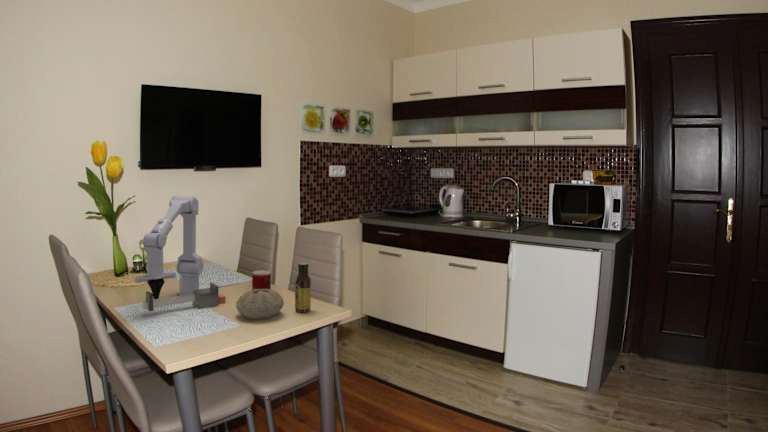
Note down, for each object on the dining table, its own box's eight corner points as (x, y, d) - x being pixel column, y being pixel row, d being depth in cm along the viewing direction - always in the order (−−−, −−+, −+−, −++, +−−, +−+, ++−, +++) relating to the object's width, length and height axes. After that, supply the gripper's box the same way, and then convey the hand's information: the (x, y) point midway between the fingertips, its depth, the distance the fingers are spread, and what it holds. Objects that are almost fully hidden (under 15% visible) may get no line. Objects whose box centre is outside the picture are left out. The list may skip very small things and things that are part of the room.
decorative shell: (227, 315, 187) (227, 290, 185) (265, 305, 200) (265, 282, 199) (254, 326, 175) (254, 300, 174) (293, 315, 189) (293, 290, 188)
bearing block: (192, 304, 199) (192, 285, 198) (212, 301, 204) (211, 282, 203) (199, 308, 193) (198, 288, 192) (218, 305, 199) (218, 285, 198)
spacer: (215, 295, 203) (221, 294, 205) (215, 302, 203) (221, 301, 205) (219, 297, 200) (225, 296, 202) (219, 304, 200) (225, 303, 202)
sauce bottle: (295, 308, 197) (296, 261, 195) (311, 308, 198) (311, 261, 195) (294, 313, 191) (294, 264, 188) (310, 313, 191) (310, 264, 189)
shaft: (142, 308, 185) (141, 292, 184) (202, 299, 200) (202, 283, 199) (145, 312, 181) (145, 295, 180) (206, 301, 196) (206, 286, 195)
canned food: (267, 299, 209) (267, 274, 207) (249, 298, 209) (249, 273, 208) (272, 294, 216) (273, 270, 215) (255, 293, 217) (255, 269, 216)
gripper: (137, 268, 176) (138, 304, 178) (178, 263, 186) (179, 297, 187) (132, 264, 182) (133, 299, 183) (172, 260, 191) (173, 293, 193)
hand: (156, 298), depth 186 cm, fingers closed
